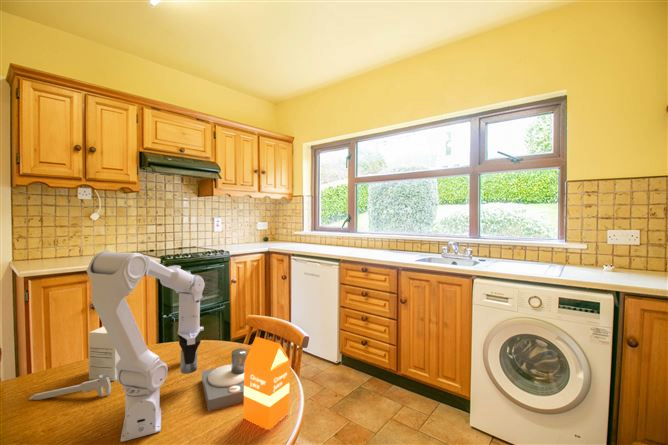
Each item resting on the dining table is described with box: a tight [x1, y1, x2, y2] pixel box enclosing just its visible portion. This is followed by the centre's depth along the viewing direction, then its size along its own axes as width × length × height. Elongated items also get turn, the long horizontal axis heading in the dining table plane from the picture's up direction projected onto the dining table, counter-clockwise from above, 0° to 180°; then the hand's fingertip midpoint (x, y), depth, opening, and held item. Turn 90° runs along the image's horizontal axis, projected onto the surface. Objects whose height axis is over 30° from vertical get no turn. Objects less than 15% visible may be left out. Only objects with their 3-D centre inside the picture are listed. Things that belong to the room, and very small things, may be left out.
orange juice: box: [243, 336, 291, 429], centre depth 80 cm, size 8×9×20 cm
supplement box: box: [88, 325, 120, 382], centre depth 100 cm, size 9×9×15 cm
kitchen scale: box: [201, 364, 244, 412], centre depth 93 cm, size 17×14×4 cm
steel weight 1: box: [180, 349, 198, 375], centre depth 93 cm, size 4×4×6 cm
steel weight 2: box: [230, 347, 248, 374], centre depth 96 cm, size 4×4×6 cm
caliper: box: [27, 374, 112, 401], centre depth 87 cm, size 20×1×6 cm, turn 98°
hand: (188, 359), depth 93 cm, fingers closed on steel weight 1, 4 cm apart
